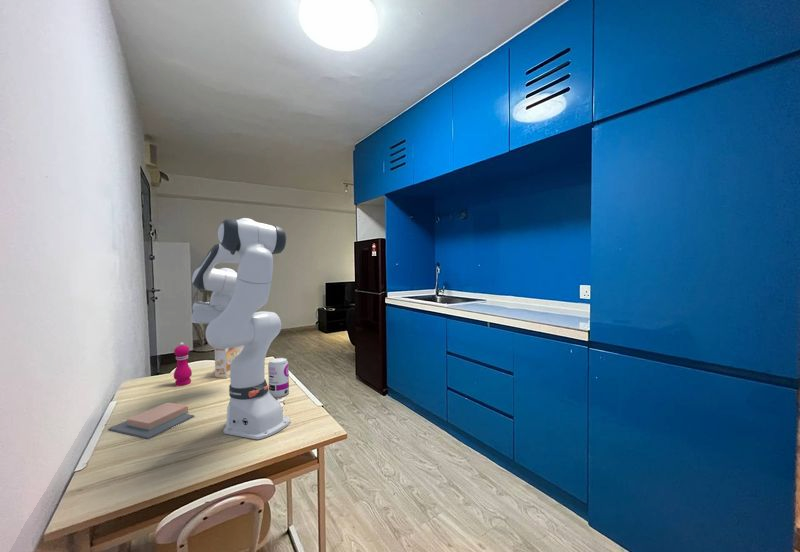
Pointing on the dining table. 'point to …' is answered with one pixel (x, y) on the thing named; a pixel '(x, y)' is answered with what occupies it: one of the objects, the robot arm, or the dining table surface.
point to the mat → (152, 433)
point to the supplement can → (278, 377)
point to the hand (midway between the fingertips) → (215, 335)
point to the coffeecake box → (225, 360)
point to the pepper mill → (182, 366)
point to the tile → (157, 416)
